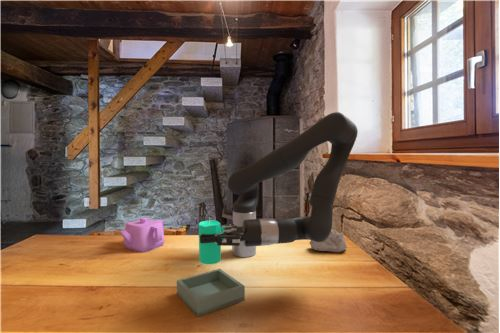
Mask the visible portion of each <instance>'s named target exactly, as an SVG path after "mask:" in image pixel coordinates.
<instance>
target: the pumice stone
mask: <svg viewBox="0 0 500 333" xmlns="http://www.w3.org/2000/svg"><path fill="white" fill-rule="evenodd" d="M309 245H310V248H311V249H312V250H314V251H319V252H332V253H341V252H343V251H346V249H347V248H348V247H347V242H346V240H345V236H344V233H340V232H338V231H337V230H335V229H333V228H332V229H331V232H330V235H329V237H328V238H327V239H326V240H325V241H323V242H315V241H312V240H309Z"/></svg>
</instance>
